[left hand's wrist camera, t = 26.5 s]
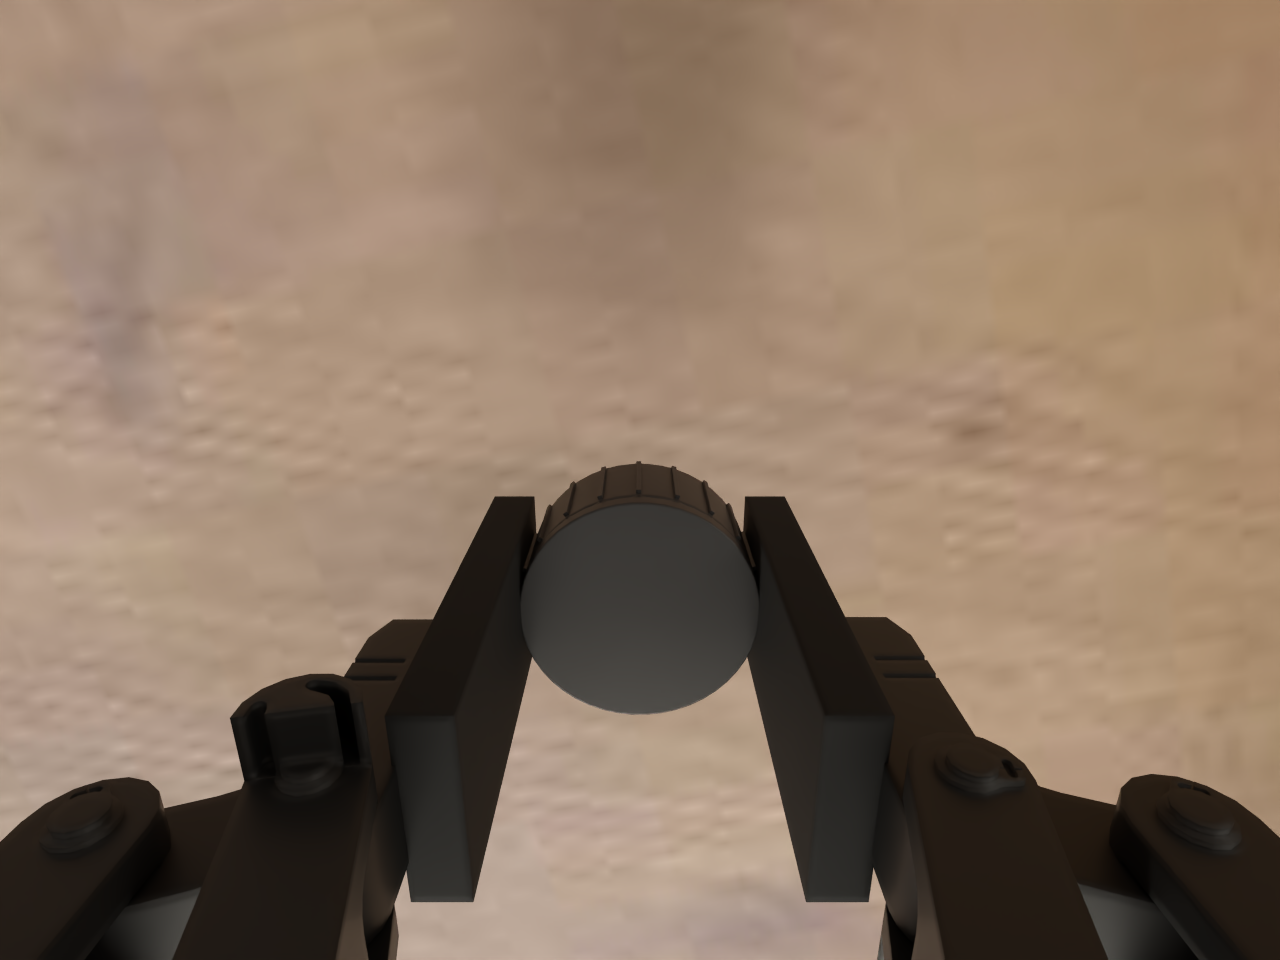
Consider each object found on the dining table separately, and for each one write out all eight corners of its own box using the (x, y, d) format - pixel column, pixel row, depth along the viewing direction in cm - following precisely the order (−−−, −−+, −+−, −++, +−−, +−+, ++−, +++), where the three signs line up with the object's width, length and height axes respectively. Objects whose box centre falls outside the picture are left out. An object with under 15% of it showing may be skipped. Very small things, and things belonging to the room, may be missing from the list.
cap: (499, 604, 15) (478, 662, 13) (588, 422, 13) (579, 458, 12) (684, 682, 15) (691, 749, 13) (787, 517, 14) (809, 565, 12)
